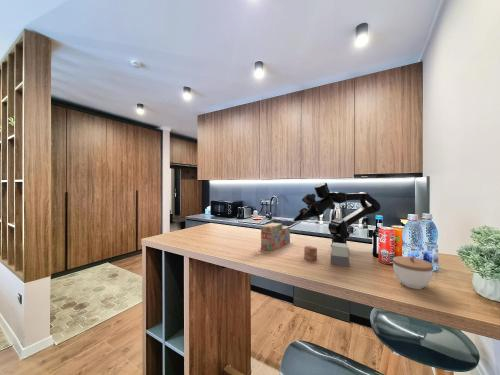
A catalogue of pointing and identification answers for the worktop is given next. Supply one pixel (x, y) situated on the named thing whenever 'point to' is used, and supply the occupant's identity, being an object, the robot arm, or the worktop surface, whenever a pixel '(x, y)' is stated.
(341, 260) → the charcoal base block
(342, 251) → the sage top block
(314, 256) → the wooden block
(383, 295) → the worktop surface
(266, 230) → the stack of blocks
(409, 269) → the lidded jar
